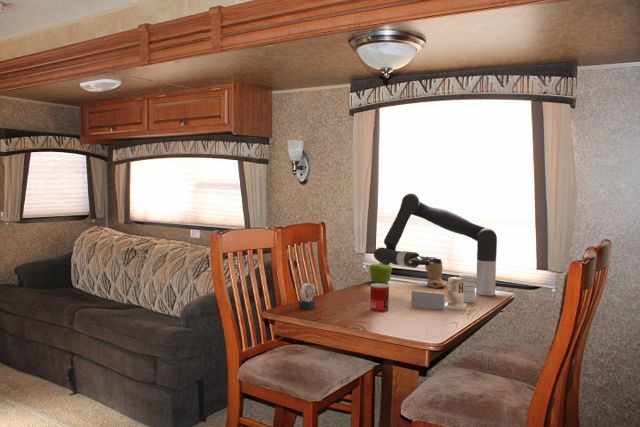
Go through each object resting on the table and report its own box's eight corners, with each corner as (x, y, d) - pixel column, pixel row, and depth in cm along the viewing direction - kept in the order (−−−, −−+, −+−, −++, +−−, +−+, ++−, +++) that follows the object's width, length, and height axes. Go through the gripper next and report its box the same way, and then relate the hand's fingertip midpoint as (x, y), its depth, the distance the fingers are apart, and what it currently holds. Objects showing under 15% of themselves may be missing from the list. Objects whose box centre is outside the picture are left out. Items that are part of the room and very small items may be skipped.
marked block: (447, 304, 235) (448, 278, 234) (454, 303, 238) (454, 276, 237) (457, 306, 231) (458, 279, 230) (464, 305, 234) (464, 278, 233)
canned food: (387, 312, 222) (388, 286, 222) (369, 311, 224) (369, 285, 223) (389, 308, 230) (389, 283, 229) (371, 307, 232) (371, 282, 231)
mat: (446, 304, 240) (446, 301, 240) (466, 305, 237) (466, 303, 237) (444, 308, 232) (444, 305, 232) (465, 309, 229) (465, 307, 229)
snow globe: (316, 307, 230) (317, 282, 229) (307, 311, 223) (307, 285, 222) (306, 306, 233) (306, 281, 232) (296, 309, 226) (296, 284, 225)
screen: (411, 306, 235) (412, 290, 235) (443, 308, 230) (444, 293, 230) (411, 306, 233) (411, 291, 233) (443, 309, 229) (443, 293, 228)
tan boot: (426, 282, 295) (426, 256, 294) (447, 284, 291) (448, 257, 290) (421, 287, 281) (422, 259, 280) (444, 289, 277) (444, 261, 276)
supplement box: (457, 298, 253) (458, 272, 252) (473, 299, 251) (474, 273, 251) (458, 301, 246) (459, 275, 245) (474, 302, 244) (475, 275, 243)
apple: (385, 285, 284) (385, 265, 284) (365, 283, 291) (365, 263, 291) (395, 282, 295) (395, 262, 294) (375, 280, 302) (376, 260, 301)
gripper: (398, 252, 252) (425, 255, 239) (417, 250, 261) (444, 253, 248) (398, 268, 252) (425, 272, 239) (417, 265, 261) (444, 268, 249)
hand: (435, 262), depth 244 cm, fingers open, 8 cm apart
